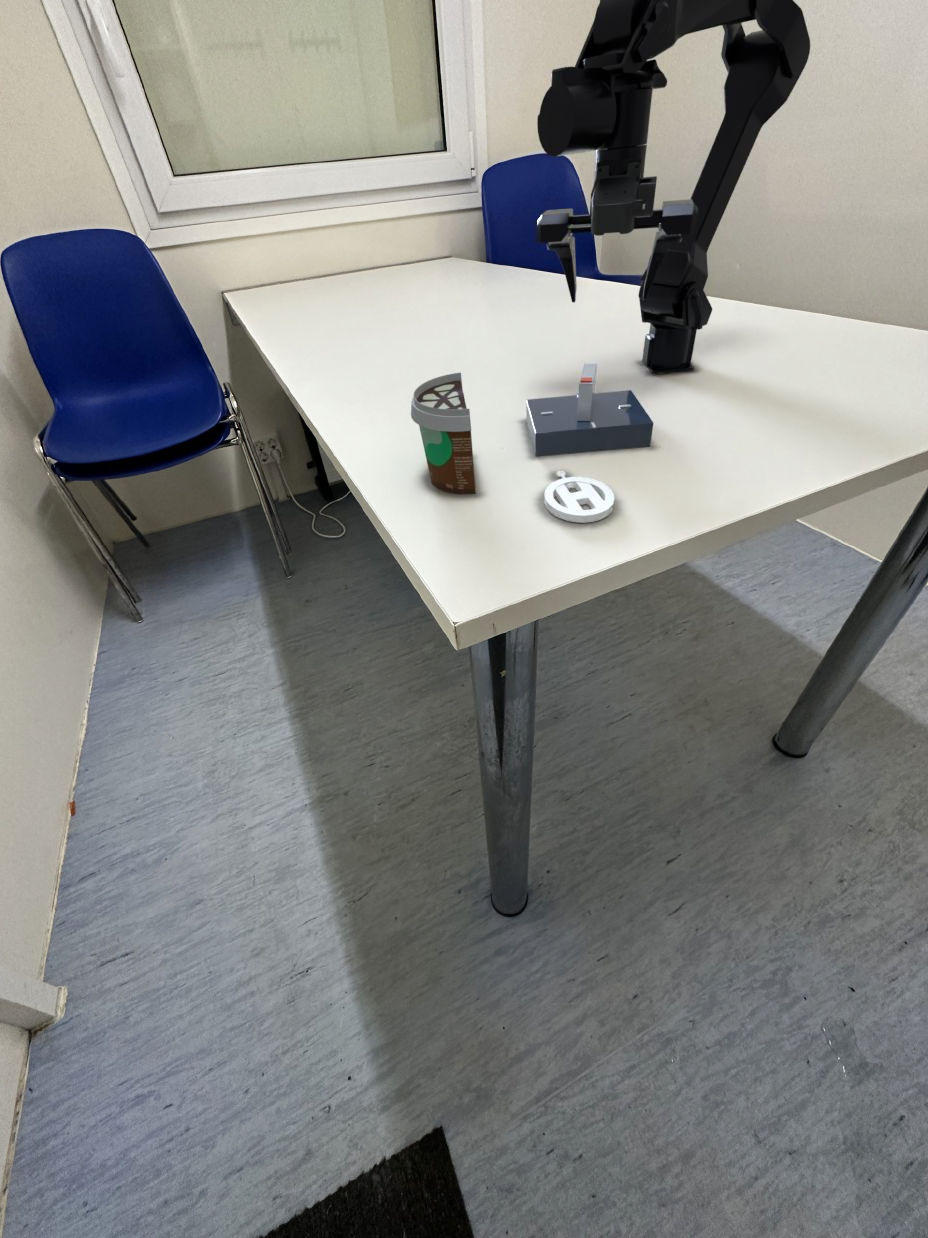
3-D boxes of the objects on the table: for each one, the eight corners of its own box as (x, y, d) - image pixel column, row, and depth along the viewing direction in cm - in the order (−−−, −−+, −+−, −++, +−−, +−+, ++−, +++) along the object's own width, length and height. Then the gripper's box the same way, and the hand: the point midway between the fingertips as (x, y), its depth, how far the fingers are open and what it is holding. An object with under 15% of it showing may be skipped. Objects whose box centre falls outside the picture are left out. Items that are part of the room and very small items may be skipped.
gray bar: (581, 399, 71) (584, 361, 68) (594, 399, 71) (597, 361, 68) (576, 420, 66) (578, 380, 63) (590, 421, 66) (592, 380, 63)
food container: (420, 458, 69) (407, 376, 63) (467, 452, 69) (460, 370, 63) (422, 506, 60) (408, 417, 54) (477, 500, 60) (469, 410, 54)
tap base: (628, 411, 75) (631, 388, 72) (650, 446, 66) (654, 421, 64) (526, 421, 75) (526, 397, 73) (535, 457, 67) (535, 432, 65)
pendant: (559, 527, 54) (559, 521, 54) (527, 478, 63) (527, 472, 62) (626, 515, 55) (627, 508, 55) (586, 468, 63) (586, 461, 63)
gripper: (529, 159, 59) (530, 318, 69) (713, 141, 55) (684, 314, 65) (543, 153, 67) (542, 297, 77) (705, 137, 62) (681, 292, 73)
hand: (608, 300), depth 73 cm, fingers open, 9 cm apart
